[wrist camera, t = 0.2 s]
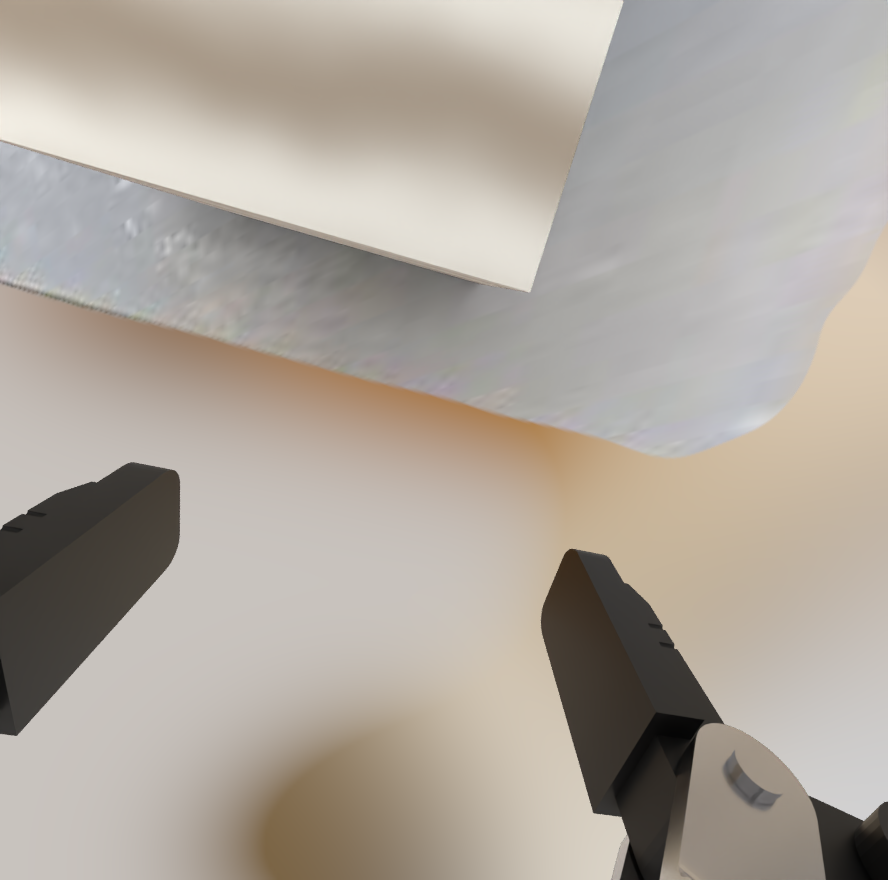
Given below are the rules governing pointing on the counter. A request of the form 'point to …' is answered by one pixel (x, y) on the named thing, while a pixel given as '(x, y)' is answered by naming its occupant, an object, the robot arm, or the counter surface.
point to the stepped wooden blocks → (323, 113)
